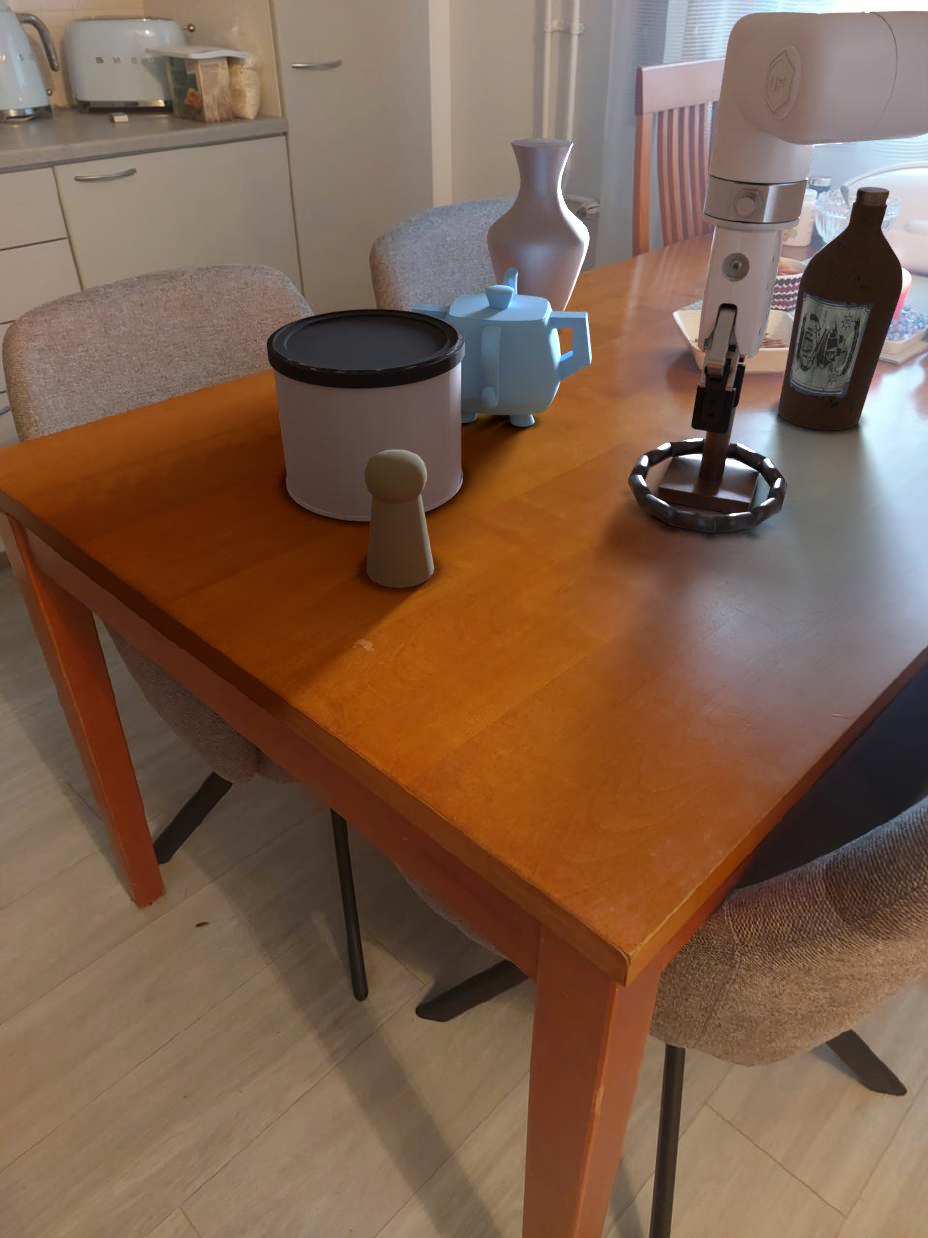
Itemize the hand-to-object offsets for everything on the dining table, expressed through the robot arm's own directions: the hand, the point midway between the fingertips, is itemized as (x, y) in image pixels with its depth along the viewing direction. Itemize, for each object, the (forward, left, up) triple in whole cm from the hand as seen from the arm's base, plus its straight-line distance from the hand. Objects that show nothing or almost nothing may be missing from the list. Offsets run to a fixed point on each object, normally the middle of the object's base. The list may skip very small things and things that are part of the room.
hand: (715, 415), depth 81 cm
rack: (0, -7, -11) cm, 13 cm away
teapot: (+28, -20, -11) cm, 36 cm away
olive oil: (-9, -31, -11) cm, 34 cm away
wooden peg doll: (+23, +19, -11) cm, 32 cm away
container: (+33, +4, -11) cm, 35 cm away
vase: (+33, -49, -11) cm, 60 cm away
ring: (0, -5, -9) cm, 10 cm away
